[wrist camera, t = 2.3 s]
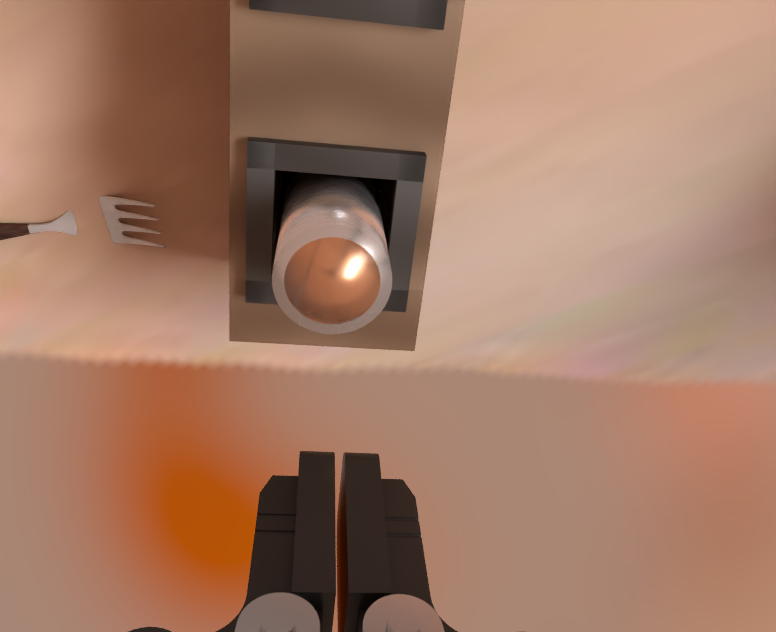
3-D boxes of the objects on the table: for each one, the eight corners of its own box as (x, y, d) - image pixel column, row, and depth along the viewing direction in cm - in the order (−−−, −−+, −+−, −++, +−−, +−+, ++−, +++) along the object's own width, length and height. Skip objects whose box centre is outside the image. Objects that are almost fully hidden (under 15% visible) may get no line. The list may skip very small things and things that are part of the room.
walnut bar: (256, -262, 27) (227, -343, 19) (461, -231, 28) (511, -296, 20) (248, 264, 37) (227, 348, 29) (398, 274, 38) (415, 358, 30)
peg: (286, 155, 29) (273, 221, 22) (382, 164, 29) (398, 230, 23) (283, 246, 31) (270, 330, 24) (373, 252, 31) (385, 337, 24)
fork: (-162, 218, 34) (-188, 233, 33) (162, 187, 35) (154, 201, 33) (-138, 266, 36) (-162, 283, 34) (174, 236, 36) (166, 251, 34)
